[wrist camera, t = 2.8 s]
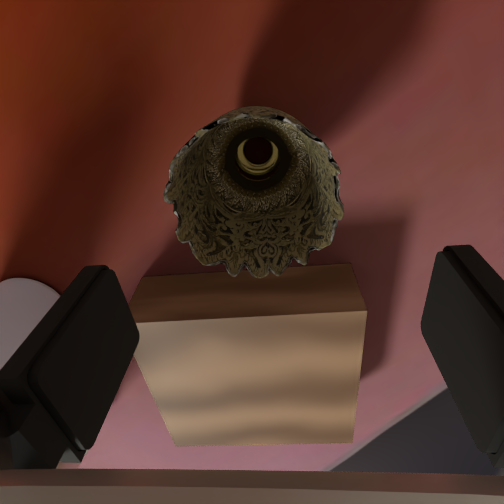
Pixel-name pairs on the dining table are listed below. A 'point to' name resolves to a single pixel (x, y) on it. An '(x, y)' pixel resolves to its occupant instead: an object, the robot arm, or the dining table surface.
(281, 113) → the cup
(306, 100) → the dining table surface
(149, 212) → the dining table surface
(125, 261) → the dining table surface
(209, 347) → the walnut plinth
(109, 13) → the dining table surface
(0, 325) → the spray bottle
